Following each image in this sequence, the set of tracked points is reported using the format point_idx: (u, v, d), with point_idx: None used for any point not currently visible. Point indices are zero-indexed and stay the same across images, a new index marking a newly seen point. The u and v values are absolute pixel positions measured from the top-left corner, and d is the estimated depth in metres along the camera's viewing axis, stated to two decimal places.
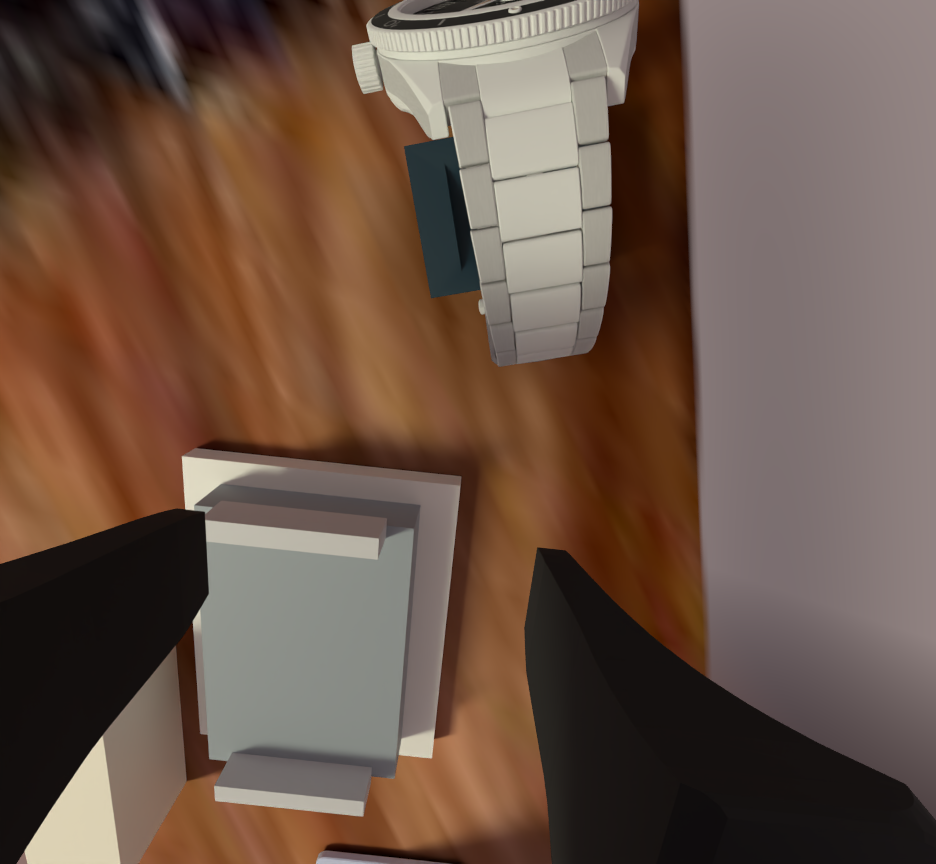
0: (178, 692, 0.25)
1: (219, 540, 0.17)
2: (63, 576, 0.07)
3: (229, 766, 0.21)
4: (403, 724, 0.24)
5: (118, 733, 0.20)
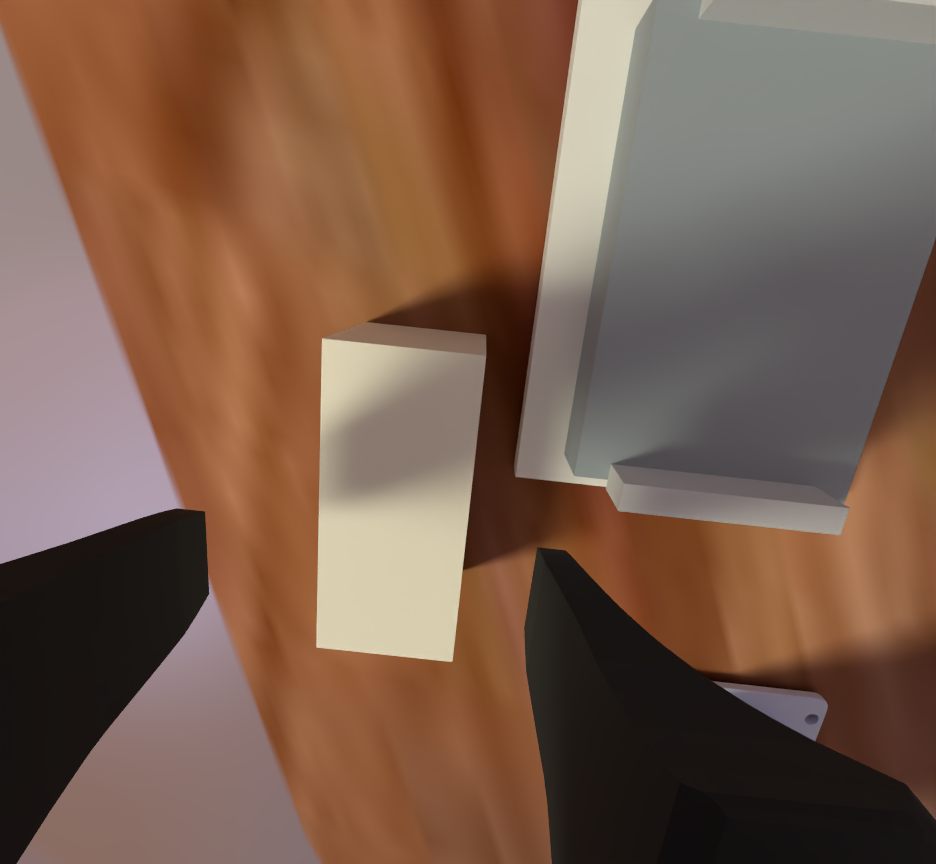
0: None
1: None
2: (63, 576, 0.07)
3: (622, 472, 0.14)
4: None
5: None
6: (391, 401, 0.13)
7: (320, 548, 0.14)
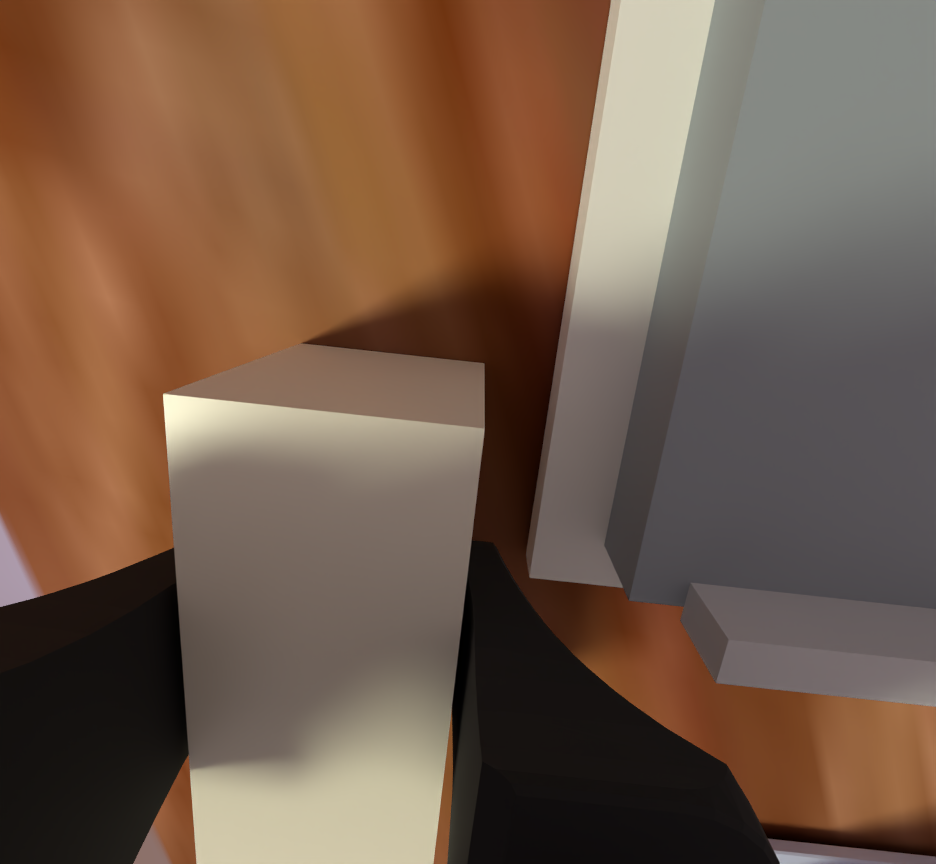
0: None
1: None
2: (168, 587, 0.07)
3: (715, 605, 0.09)
4: None
5: None
6: (304, 509, 0.07)
7: (192, 751, 0.08)
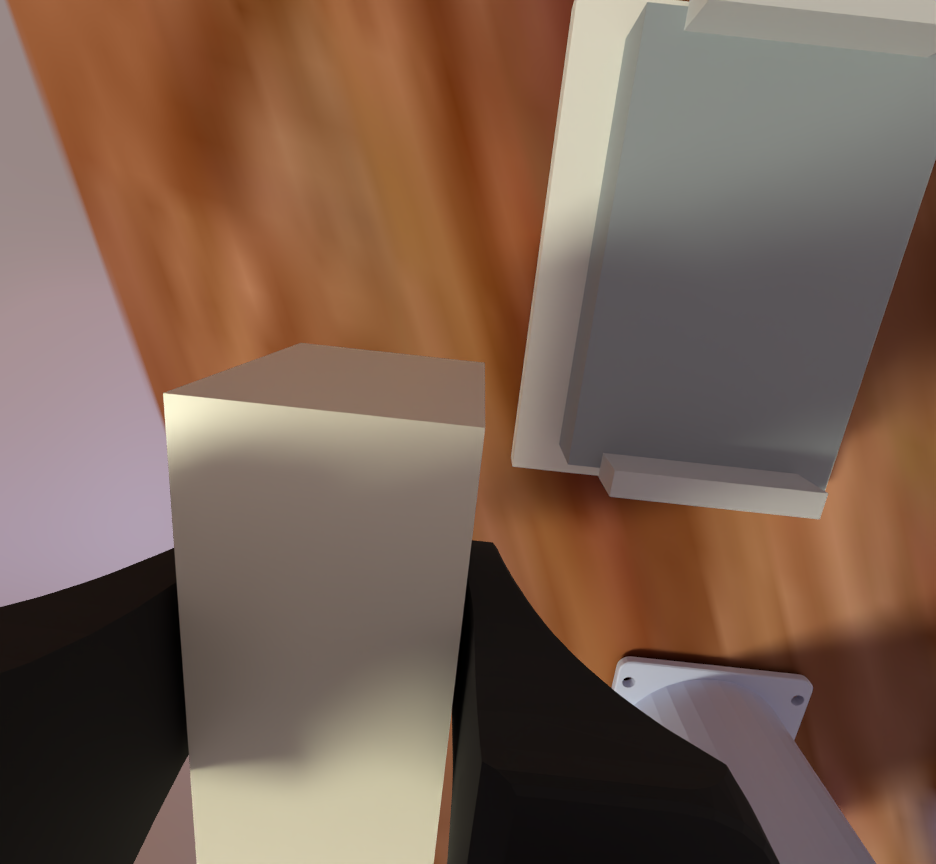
0: None
1: None
2: (169, 587, 0.07)
3: (613, 460, 0.15)
4: None
5: None
6: (304, 508, 0.07)
7: (192, 751, 0.08)
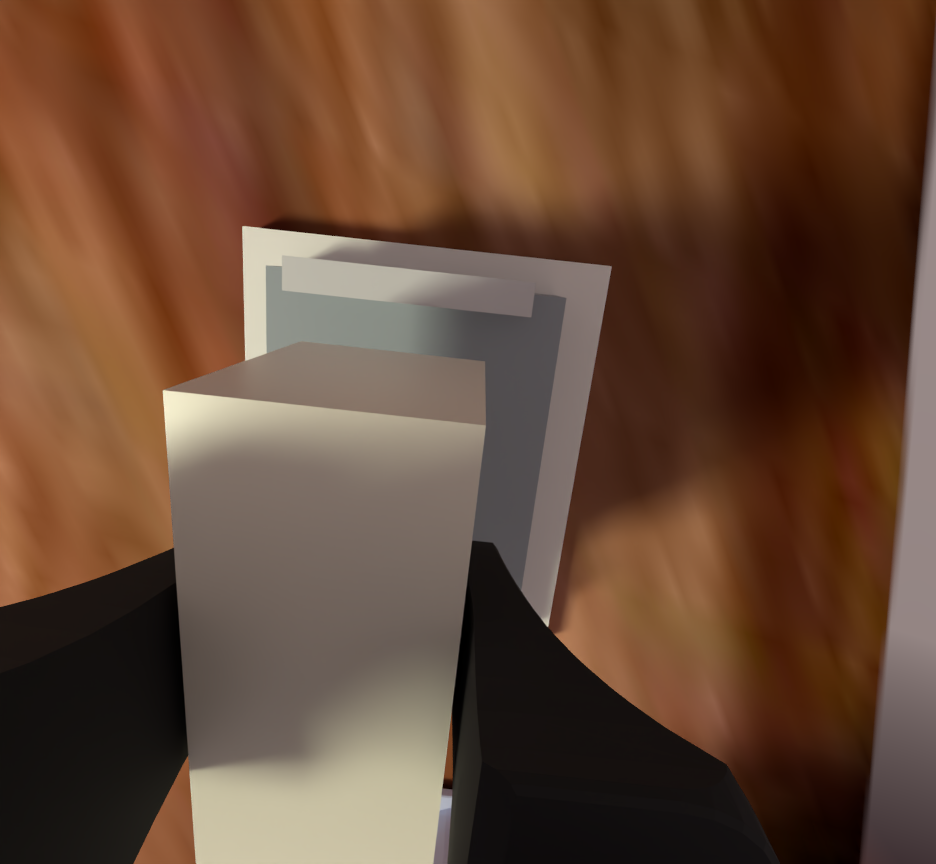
0: None
1: (309, 288, 0.12)
2: (169, 587, 0.07)
3: None
4: None
5: None
6: (305, 506, 0.07)
7: (191, 749, 0.08)
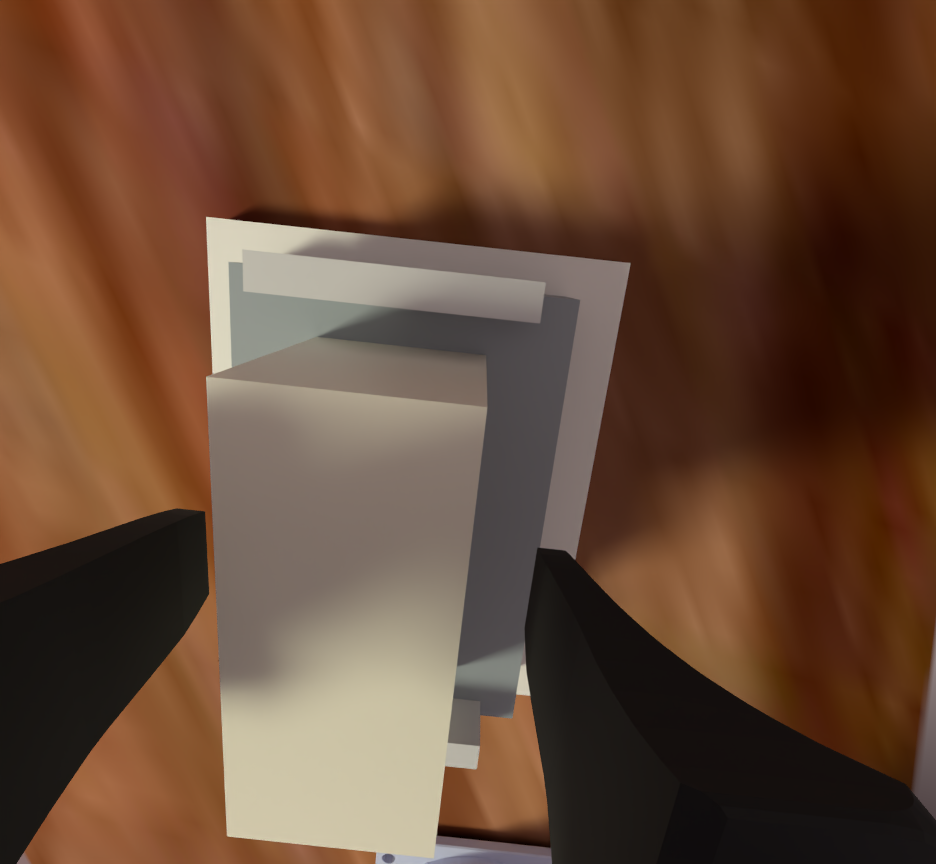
0: None
1: (275, 289, 0.10)
2: (63, 576, 0.07)
3: None
4: None
5: None
6: (328, 478, 0.08)
7: (224, 700, 0.09)
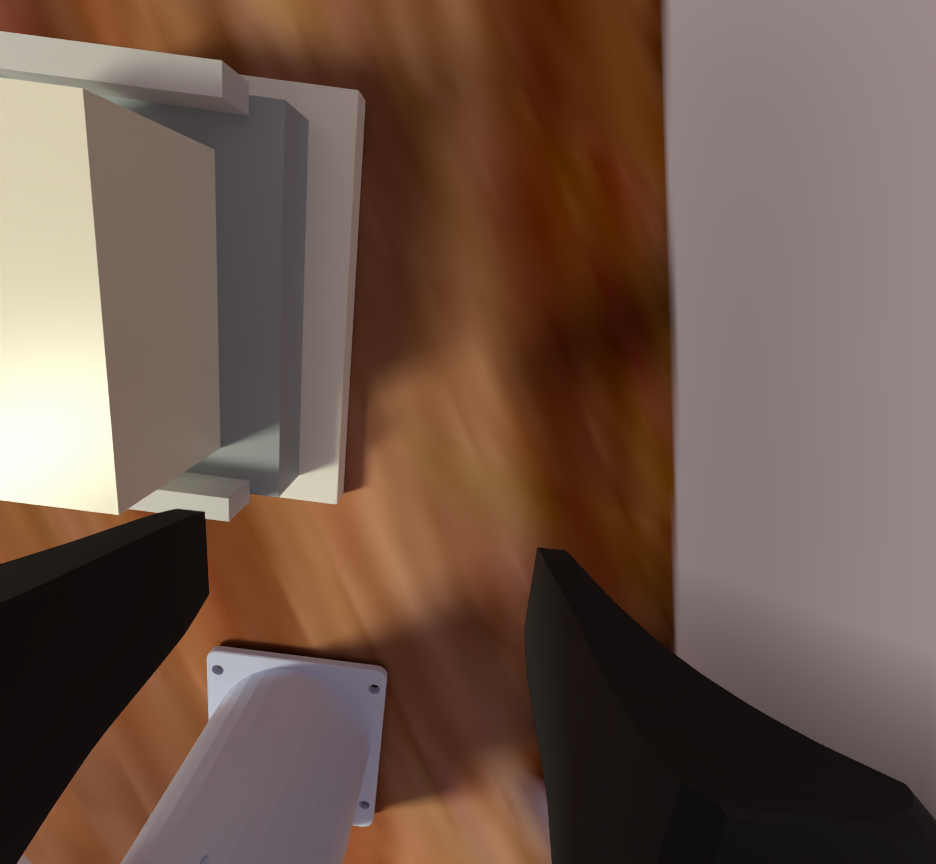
0: (213, 266, 0.15)
1: (8, 64, 0.13)
2: (63, 576, 0.07)
3: None
4: (299, 454, 0.19)
5: (115, 174, 0.11)
6: None
7: None
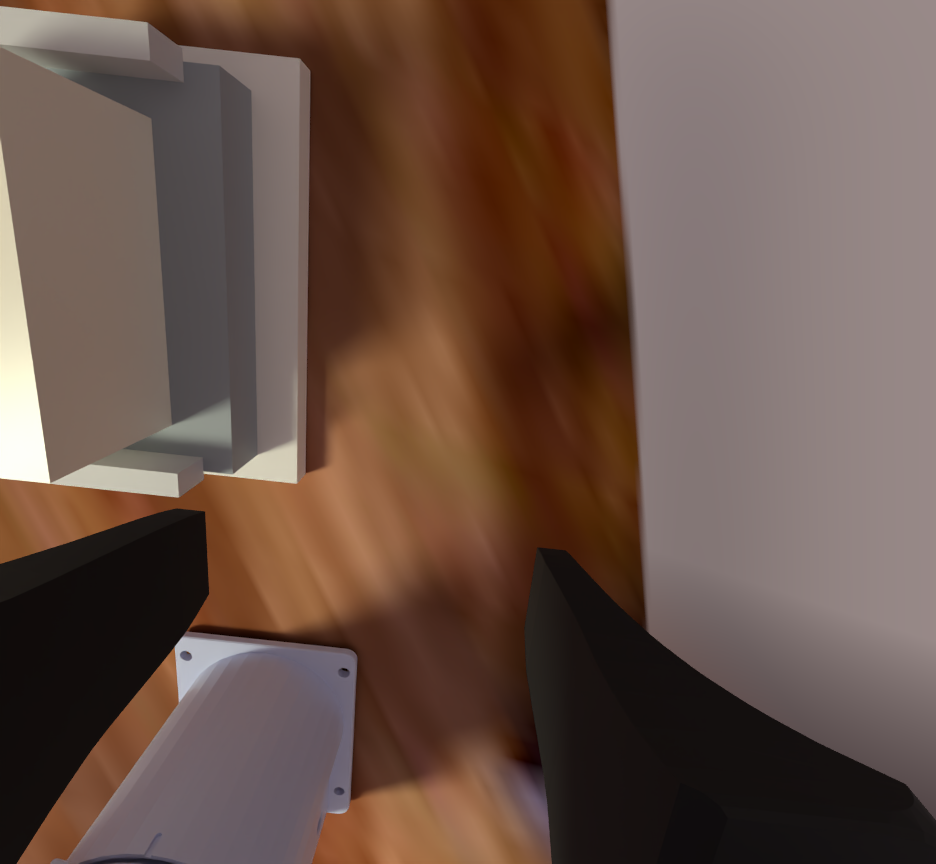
0: (154, 237, 0.15)
1: None
2: (63, 576, 0.07)
3: None
4: (257, 433, 0.19)
5: (31, 132, 0.11)
6: None
7: None
